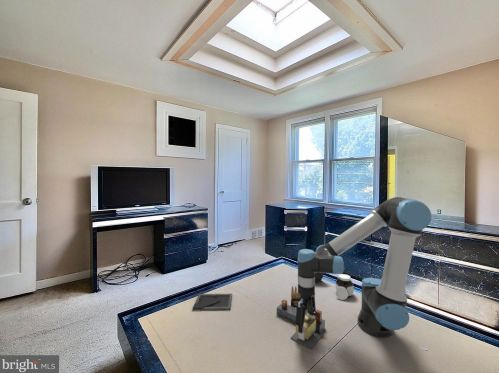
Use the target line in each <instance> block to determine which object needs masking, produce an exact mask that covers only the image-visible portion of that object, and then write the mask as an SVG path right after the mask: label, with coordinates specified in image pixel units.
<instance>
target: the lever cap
mask: <svg viewBox="0 0 499 373" xmlns="http://www.w3.org/2000/svg"><path fill="white" fill-rule="evenodd" d="M304 325H305V338H306V339H309V338H310V337H311V335H312V334H313V333H315V331H316V319H313V318H311V317H308V316H306V315H305V320H304ZM295 332H296V334H298V326H297V325H296V324H295Z"/></svg>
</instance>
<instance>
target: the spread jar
mask: <svg viewBox="0 0 499 373" xmlns="http://www.w3.org/2000/svg"><path fill="white" fill-rule="evenodd" d="M354 290H355V288H354V283H353V281H352V279H351V275H348V274H344V273H342V274H338V278H337V279H336V281H335V296H336V298H338V299H339V300H341V301H344V300H347V299H349V298H350V297H352V296H353V295H354V293H355V291H354Z"/></svg>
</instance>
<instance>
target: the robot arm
mask: <svg viewBox="0 0 499 373" xmlns="http://www.w3.org/2000/svg"><path fill="white" fill-rule="evenodd" d="M432 216H433V215H432V213H431V210H430V208H429V206H428V205H426V204H425V203H424V202H422V201H420V200H417V199H414V198H408V197H407V198H405V197H401V196H399V197H398V196H397V197H391V198H389V199H387V200H385V201H383V202H382V203H380V204H379V205H377V206H376V207H375V208H373V209H372V210H371V212H370V214H368V215H367V216H365V217H364V218H363V219H361V220H359V221H358V222H356V223H355V224H354V225H352V226H351V227H349V228H348V229H347V230H345V231H343V232H342V233H340V234H339V235H338V236H336V237H334V239H332V240H331V241H329V242H328V243H326V244H321V245H319V246H317V248H316V250H315V251H314V249H308V248H303V249H299V251H298V252H297V292H298V293H299V294H300V296H301V297H300V302H297V303H296V304H297V311H296V323H294V324H295V326H296V325H297V326H298V338H300V339H302V340H305V325H304V320H305V314H306V313H309V314H307V316H308V317H311V318H313V316H315V315H316V313H315V312H316V310H317V309H316V308H317V307H316V288H315V287H316V286H315V285H316V284H315V273H323V274H329V275H330V274H331V275H340V274H344V271H345V262H344V259H343V257H342V256H340V255H342V254H344V253H345V252H346V251H348V250H350V249H351V248H352V247H354V246H355V245H357V244H358V243H360V242H362V241H363V240H364V239H366V238H368V237H369V236H370V235H372V234H373V233H375V232H376V231H378V230H380V229H381V228H383V227H385V228H386V227H388V229H389V231H391V232H390V236H389V242H388V243H389V244H388V247H387V252H386V255H385V256H386V257H385V261H384V266H383V269H382V270H383V271H382V276H381V278H375V277H365V278H362V280H361V284H360V285H361V308H360V310H359V313H358V314H357V325H358V327H359V328H360V329H361V330H362V331H364V333H366V334H370V335H372V336H375V337H379V338H387V337H390V336H392V335H393V333H394V331H398V330H399V331H400V330H401V329H404V328H406V327H407V326H408V324H409V322H410V314H409V312H408V309H406V307H407V302H408V297H407V296H406V294H405V289H406V286H407V280H408V275H409V271H410V267H411V266H410V265H411V261H412V256H413V252H414V247H415V244H416V238H418V237H421V236H422V232H423V230H425V228H426V227H428V226H429V225H430V224H431V221H432V218H433V217H432ZM315 252H316V255H315ZM304 306H306V307H304Z"/></svg>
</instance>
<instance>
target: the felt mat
mask: <svg viewBox="0 0 499 373" xmlns="http://www.w3.org/2000/svg"><path fill="white" fill-rule="evenodd" d="M321 338H322V335H321V334H320V335H319V334H317V333H315V332H314V333H313V334H312V335H311V337H310V338H309V339H306V338H305V340H302V339H300V338H298V334H296V331H295V332H294V333H293V334H292V335H291V336H290V340H292V341H294V342H296V343H298V344H300V345H302V346H304V347H305V348H308V350H309V349H310V350H312V349H313V348H314V347H315V345H316V344H317V343H318V341H319V340H320V339H321Z"/></svg>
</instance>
